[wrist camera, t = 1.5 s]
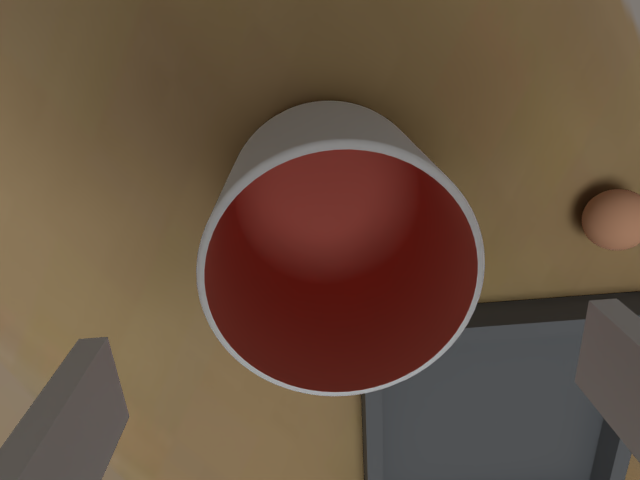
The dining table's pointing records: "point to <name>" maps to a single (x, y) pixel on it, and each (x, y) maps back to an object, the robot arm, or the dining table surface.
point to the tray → (498, 403)
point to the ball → (613, 219)
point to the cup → (338, 254)
